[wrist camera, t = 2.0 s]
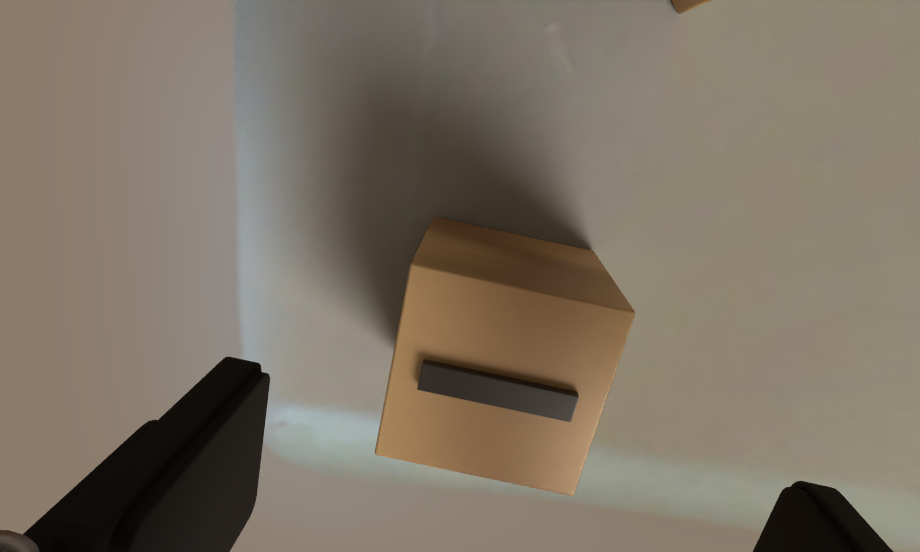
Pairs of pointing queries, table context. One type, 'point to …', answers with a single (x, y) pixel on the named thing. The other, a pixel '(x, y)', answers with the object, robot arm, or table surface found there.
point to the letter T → (687, 4)
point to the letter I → (502, 356)
